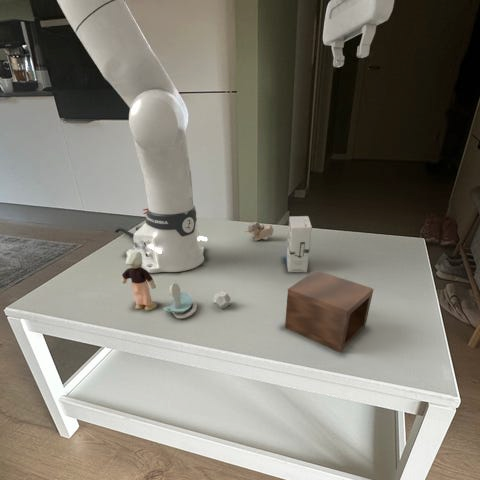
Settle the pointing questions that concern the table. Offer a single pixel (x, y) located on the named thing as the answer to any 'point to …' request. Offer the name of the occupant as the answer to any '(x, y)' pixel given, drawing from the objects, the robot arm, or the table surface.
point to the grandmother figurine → (139, 281)
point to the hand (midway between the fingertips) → (349, 62)
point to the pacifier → (180, 302)
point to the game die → (221, 299)
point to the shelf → (328, 309)
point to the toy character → (260, 231)
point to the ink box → (298, 243)
